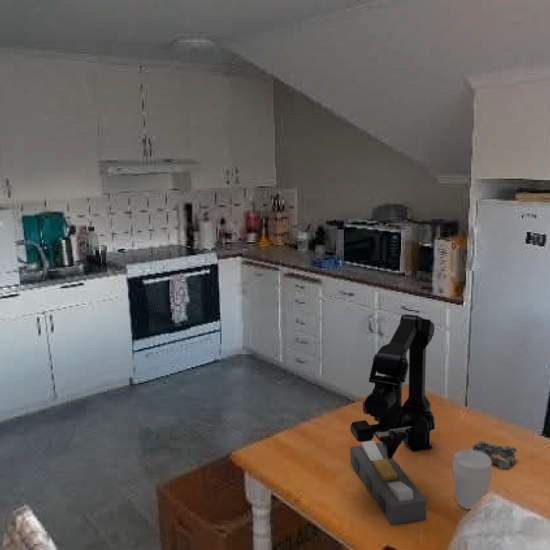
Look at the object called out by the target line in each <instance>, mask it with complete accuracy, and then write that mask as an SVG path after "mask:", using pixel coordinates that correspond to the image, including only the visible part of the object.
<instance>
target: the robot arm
mask: <svg viewBox="0 0 550 550" xmlns="http://www.w3.org/2000/svg"><path fill="white" fill-rule="evenodd" d="M399 321H400V322H399V324H398V326H397V328H396V330H395V332H394V334H393V335H392V338H391V340H390V341H389V343H387V344H385V345H383V346H381V347H380V348H379V349H378V351H377V352H376V353H375V354H374V356H373V359H372V364H371V368H370V372H369V373H370V374H369V377H368V383H373V384H374V388H373V389H372V391H371V392H370V393H369V394H368V395H367V396H366V398H365V400H364V401H362V412H363V414H364V415H369V416H370V417H373V420H374V421H375V422H377V423H375V424H370V423H369V422H368V421H367V420H366V419H365V420H357V421H352V423H350V433H351V435H352V436H353V437H354V438H355V440H356V441H357V442H358V443H362V442H369V441H373V439H374V438H375V437H376V439H377V440H378V441H379V443H381V444H382V445H383V447H384V450H385V453H386V456H387V458H388V459H392V458H393V457H394V455H395V453H396V452H397V450H398V448H399V447H400V445H401V444H402V442H403V443H404V444H405V446H407V448H408V449H409V450H410V451H412V452H416V451H424V450H430V449H433V446H432V445H431V444H430V442H431V441H430V440H431V439H430V438H431V431H434V430H435V428H436V427H435V425H436V424H435V419H436V418H435V416H434V414H433V412H432V411H431V402H430V401H429V399H428V398H427V396H426V363H427V362H426V361H427V357H426V356H427V346H429V344H430V342H431V341H432V339H433V337H434V334H435V324H434V323H433V322H432V321H431V319H428V318H423V317H422V316H419V315H417V314H407V313H405V314H402V315H401V317H400V319H399ZM408 352H409V353H408ZM407 353H408V354H409V355H408V357H409V358H408V359H409V360H408V359H407ZM376 374H377V375H376ZM378 374H379V375H378ZM407 374H408V398H407V399H406V400H405V401H404V403H403V402H402V401H403V398H402V397H403V384H404V383H406V379H407ZM383 375H384V376H383ZM402 403H403V404H402Z"/></svg>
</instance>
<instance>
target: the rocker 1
mask: <svg viewBox="0 0 550 550" xmlns="http://www.w3.org/2000/svg"><path fill="white" fill-rule="evenodd" d="M375 443H376V442H375V440H371V441H365V442H361V449H362V452H363V453H364V454H365V456H366V457H367V459H368V460H369V461H370V462H374V461H376V460H382V459H383V457H382V455H381V453H380V451H379V450H378V448H377V446H376V444H375Z"/></svg>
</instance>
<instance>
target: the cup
mask: <svg viewBox="0 0 550 550" xmlns="http://www.w3.org/2000/svg"><path fill="white" fill-rule="evenodd" d="M492 468H493V465H492V461H491V459H490V457H489V456H488V455H486V454H484V453H482V452H479V451H476V450H473V449H462V450H458V451H456V452H455V453H454V455H453V463H452V473H453V480H454V482H453V483H454V488H455V490H454V492H455V497H456V498H455V499H456V502H457V504H458V505H459V506H460V507H461V508H463V509H465V510H468V511H470V510H469V509H470V508H471V507H472V506H473V505H474V504H476V503H477V502H478V501H479V500H480V499H481V498H482V497H483V496H485V495H486V494H487V495H488V493H489V488H490V484H491V480H492V474H493V473H492V472H493V470H492Z"/></svg>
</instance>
